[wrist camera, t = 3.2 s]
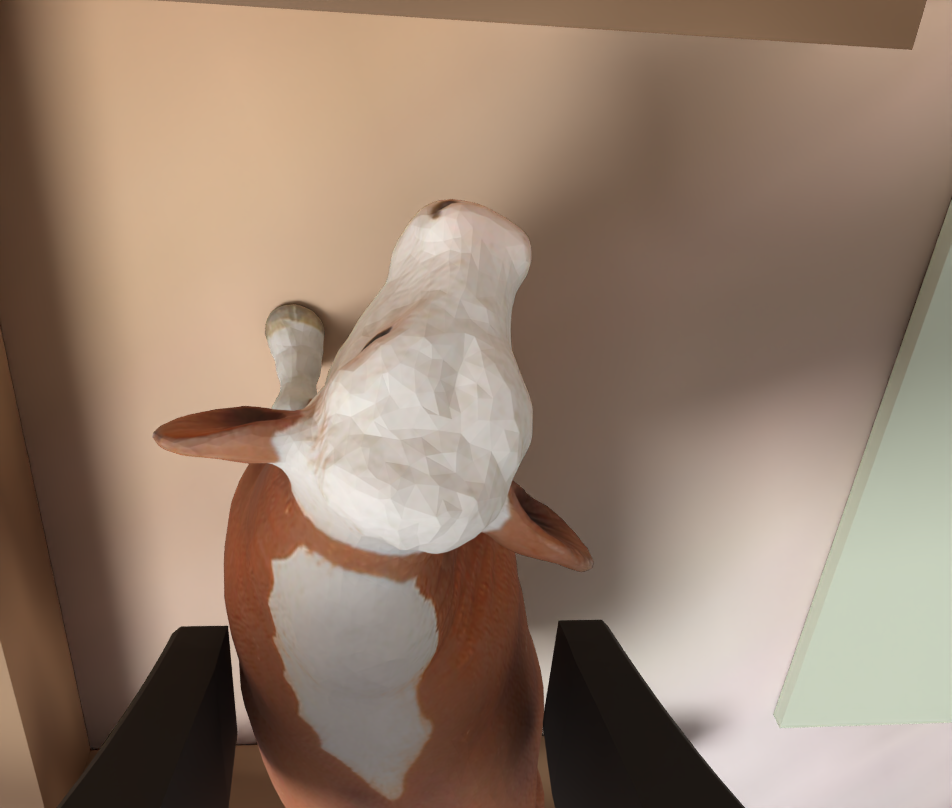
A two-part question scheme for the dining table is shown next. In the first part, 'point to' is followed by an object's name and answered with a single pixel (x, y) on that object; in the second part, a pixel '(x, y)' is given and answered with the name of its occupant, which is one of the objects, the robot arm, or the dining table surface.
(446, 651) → the bull figurine
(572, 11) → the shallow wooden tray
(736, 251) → the dining table surface
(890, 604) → the felt pad
